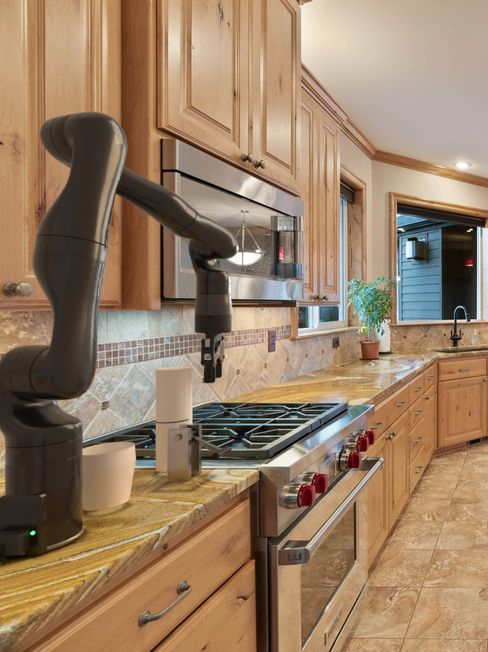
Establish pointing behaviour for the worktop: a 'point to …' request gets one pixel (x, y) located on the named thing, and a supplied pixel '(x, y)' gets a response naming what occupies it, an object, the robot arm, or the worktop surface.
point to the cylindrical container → (171, 407)
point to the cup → (107, 474)
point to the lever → (209, 445)
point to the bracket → (184, 453)
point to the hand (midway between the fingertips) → (213, 380)
